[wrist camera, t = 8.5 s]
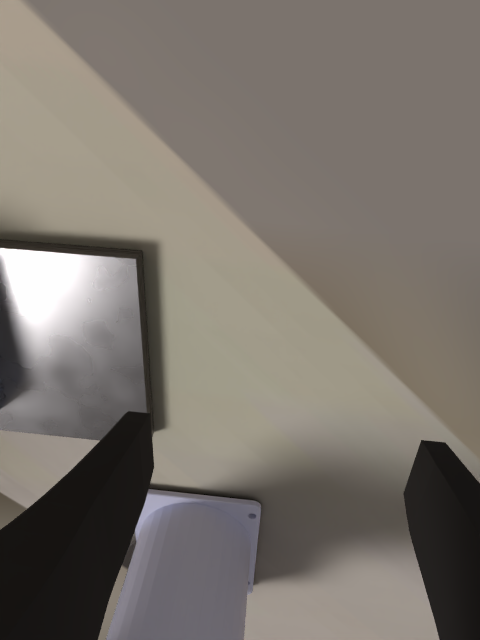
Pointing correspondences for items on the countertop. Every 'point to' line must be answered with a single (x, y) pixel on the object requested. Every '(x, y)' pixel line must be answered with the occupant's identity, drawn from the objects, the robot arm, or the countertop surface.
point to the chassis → (71, 338)
